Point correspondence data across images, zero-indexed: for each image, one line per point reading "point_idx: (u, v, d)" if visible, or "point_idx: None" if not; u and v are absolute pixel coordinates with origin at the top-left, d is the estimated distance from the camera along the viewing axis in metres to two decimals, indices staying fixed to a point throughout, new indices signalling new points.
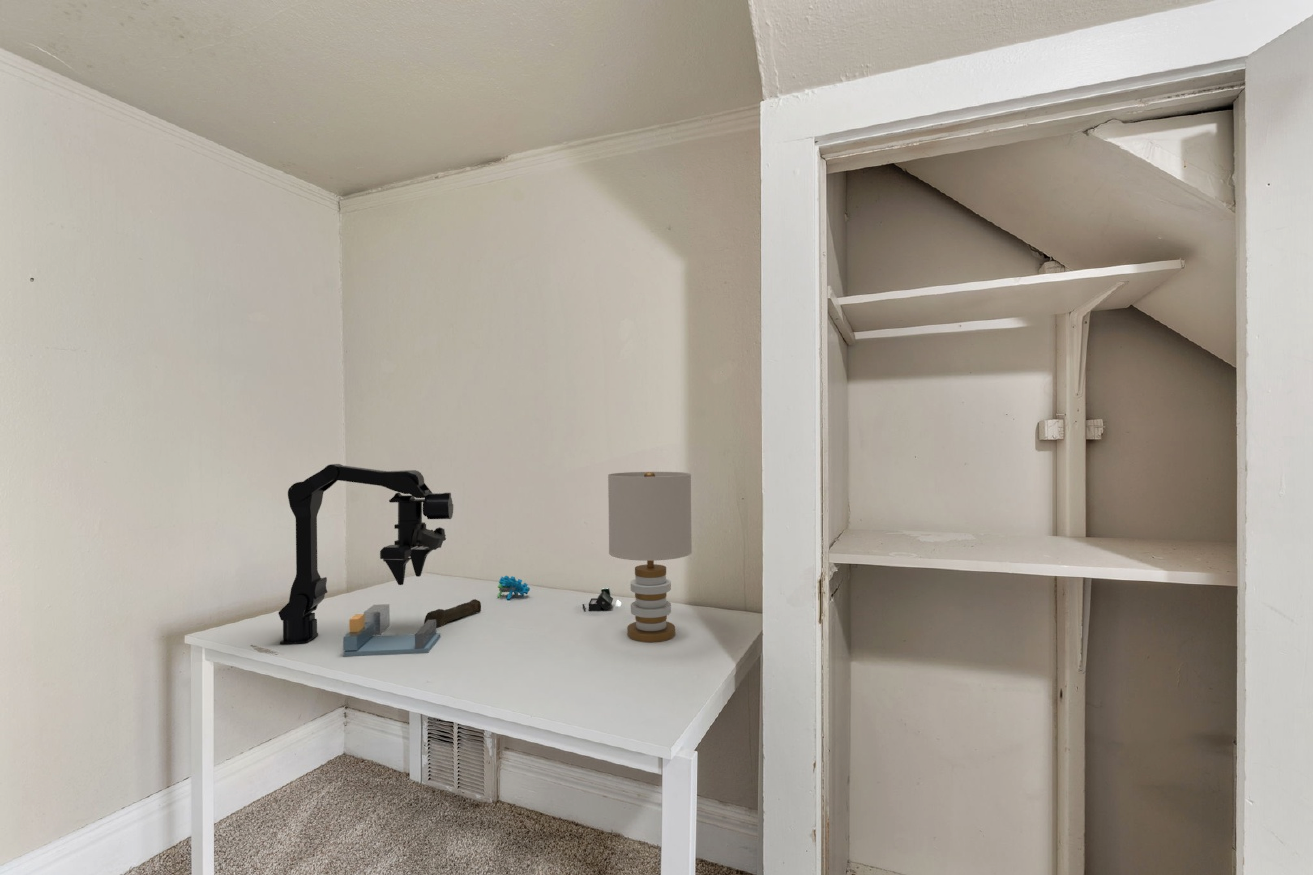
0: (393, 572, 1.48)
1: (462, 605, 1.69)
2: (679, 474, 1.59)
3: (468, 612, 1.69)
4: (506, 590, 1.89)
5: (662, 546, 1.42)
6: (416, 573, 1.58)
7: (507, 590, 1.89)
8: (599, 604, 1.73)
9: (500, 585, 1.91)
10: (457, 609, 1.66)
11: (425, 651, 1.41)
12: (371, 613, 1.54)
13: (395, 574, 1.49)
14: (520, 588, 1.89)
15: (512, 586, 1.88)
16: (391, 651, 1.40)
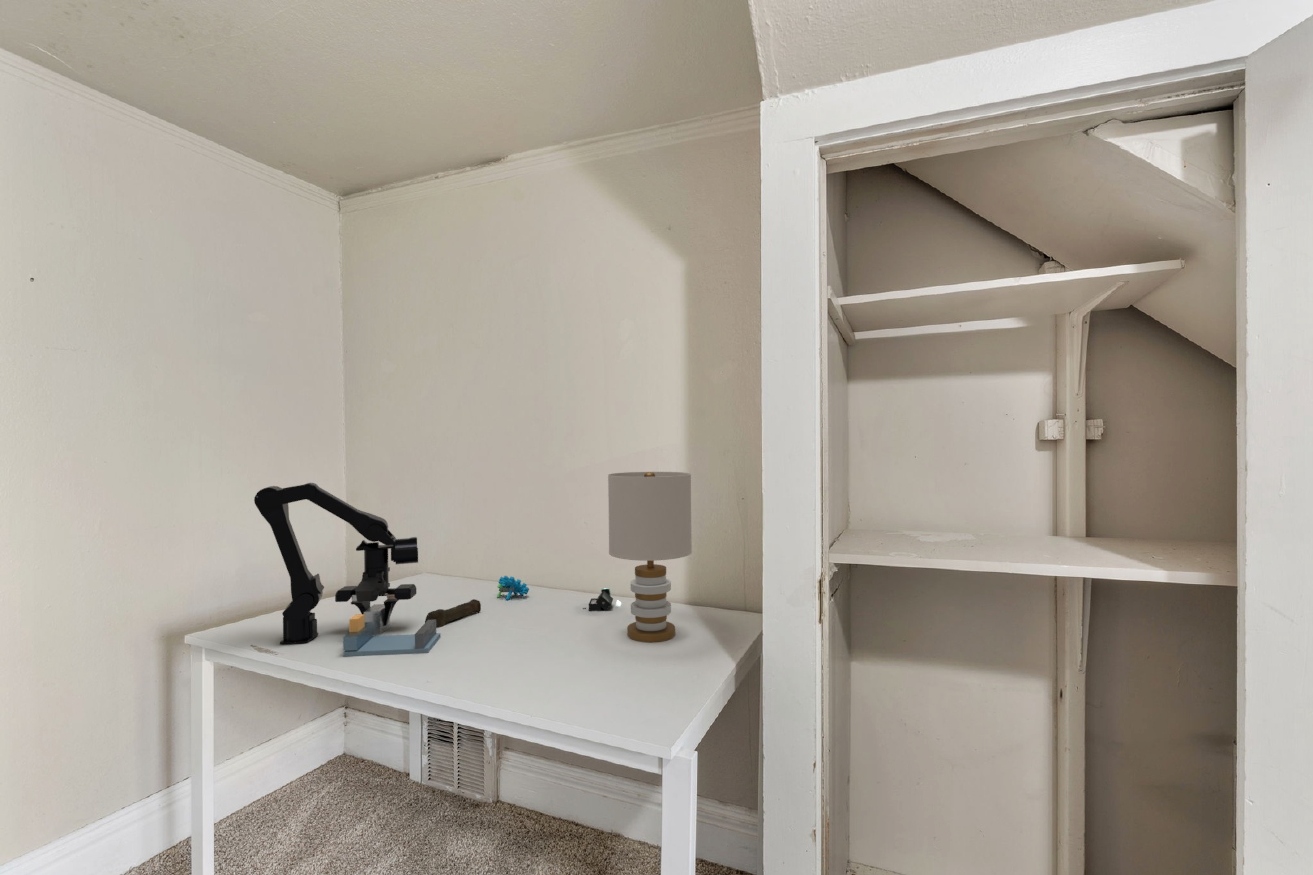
0: None
1: (462, 605, 1.69)
2: (679, 474, 1.59)
3: (468, 612, 1.69)
4: (505, 590, 1.89)
5: (662, 546, 1.42)
6: None
7: (506, 590, 1.89)
8: (599, 604, 1.73)
9: (500, 585, 1.91)
10: (457, 609, 1.66)
11: (425, 651, 1.41)
12: (371, 613, 1.54)
13: None
14: (519, 588, 1.88)
15: (511, 586, 1.88)
16: (391, 651, 1.40)
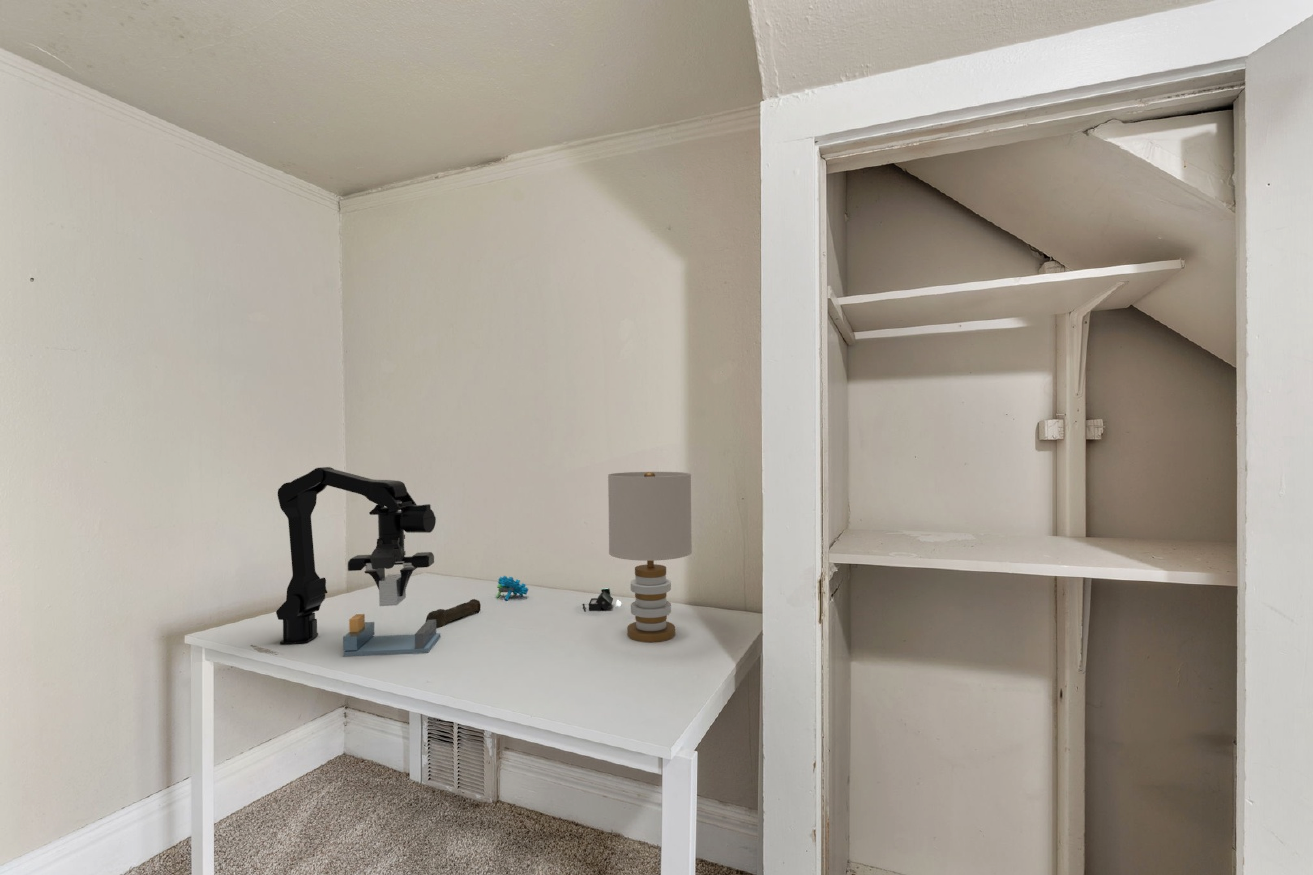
0: None
1: (462, 605, 1.69)
2: (679, 474, 1.59)
3: (468, 612, 1.69)
4: (505, 590, 1.89)
5: (662, 546, 1.42)
6: None
7: (506, 590, 1.89)
8: (599, 604, 1.73)
9: (499, 585, 1.91)
10: (457, 609, 1.66)
11: (425, 651, 1.41)
12: (387, 582, 1.44)
13: None
14: (519, 588, 1.88)
15: (511, 586, 1.88)
16: (391, 651, 1.40)
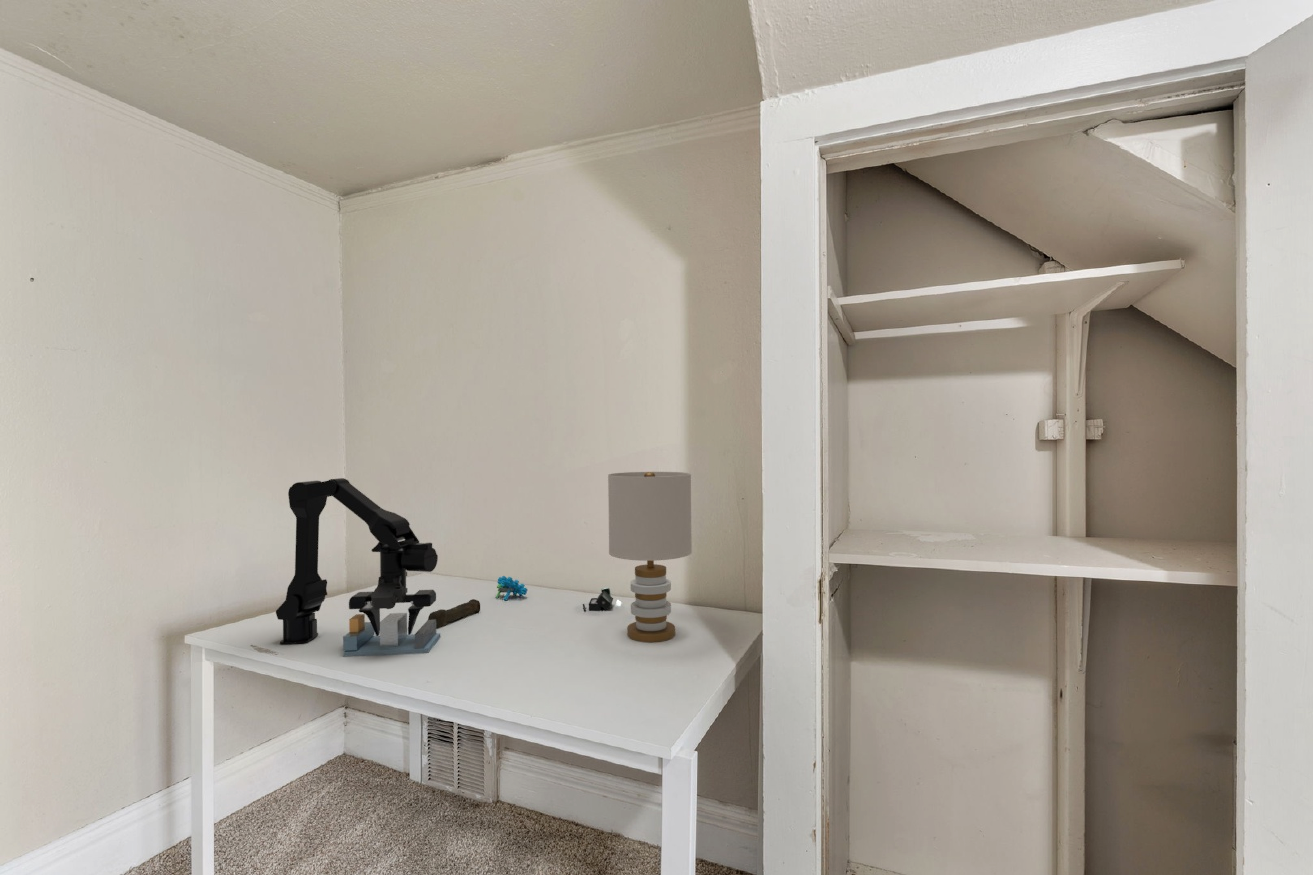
0: None
1: (462, 605, 1.69)
2: (679, 474, 1.59)
3: (468, 612, 1.69)
4: (504, 590, 1.89)
5: (662, 546, 1.42)
6: None
7: (505, 590, 1.88)
8: (599, 604, 1.73)
9: (499, 585, 1.91)
10: (458, 609, 1.66)
11: (425, 651, 1.41)
12: (388, 623, 1.42)
13: None
14: (518, 589, 1.88)
15: (510, 586, 1.87)
16: (391, 651, 1.40)
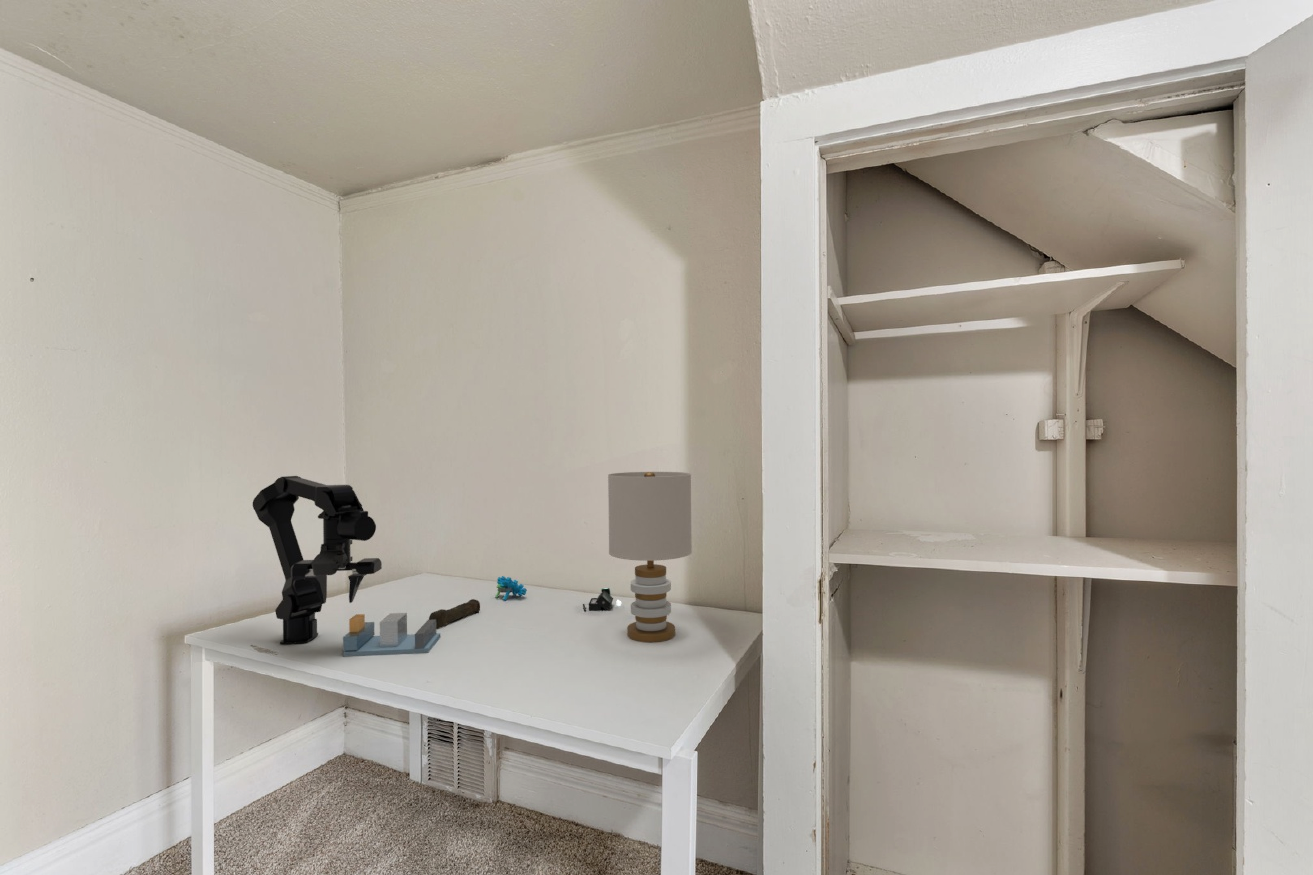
0: None
1: (462, 605, 1.69)
2: (679, 474, 1.59)
3: (468, 612, 1.69)
4: (504, 590, 1.89)
5: (662, 546, 1.42)
6: None
7: (504, 590, 1.88)
8: (599, 604, 1.74)
9: (499, 585, 1.91)
10: (458, 609, 1.66)
11: (425, 651, 1.41)
12: (388, 623, 1.42)
13: None
14: (517, 589, 1.88)
15: (509, 587, 1.87)
16: (391, 651, 1.40)
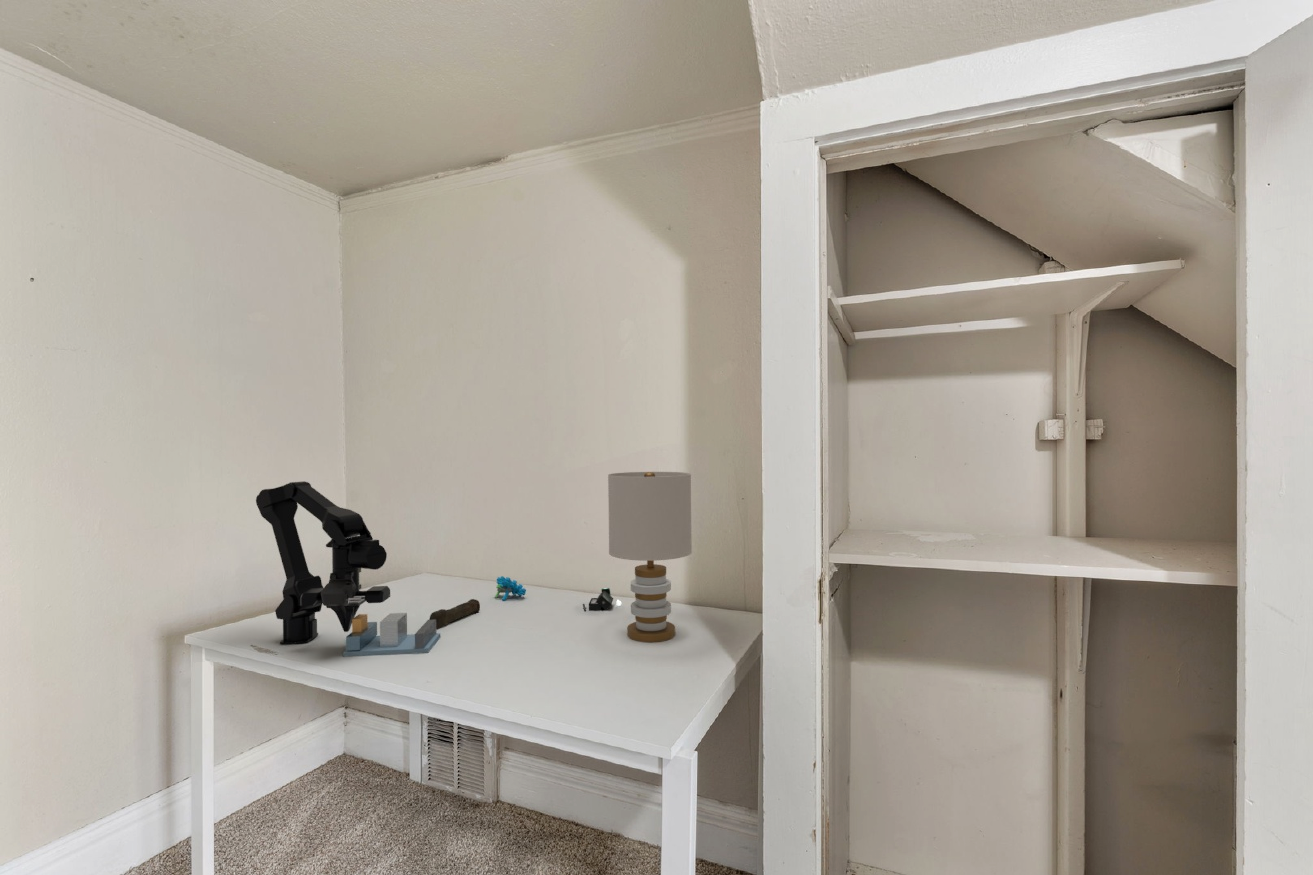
0: None
1: (462, 605, 1.69)
2: (679, 474, 1.59)
3: (468, 612, 1.69)
4: (503, 591, 1.88)
5: (662, 546, 1.42)
6: None
7: (504, 591, 1.88)
8: (599, 604, 1.74)
9: (498, 585, 1.91)
10: (458, 609, 1.66)
11: (425, 651, 1.41)
12: (388, 623, 1.42)
13: None
14: (516, 589, 1.87)
15: (508, 587, 1.87)
16: (391, 651, 1.40)
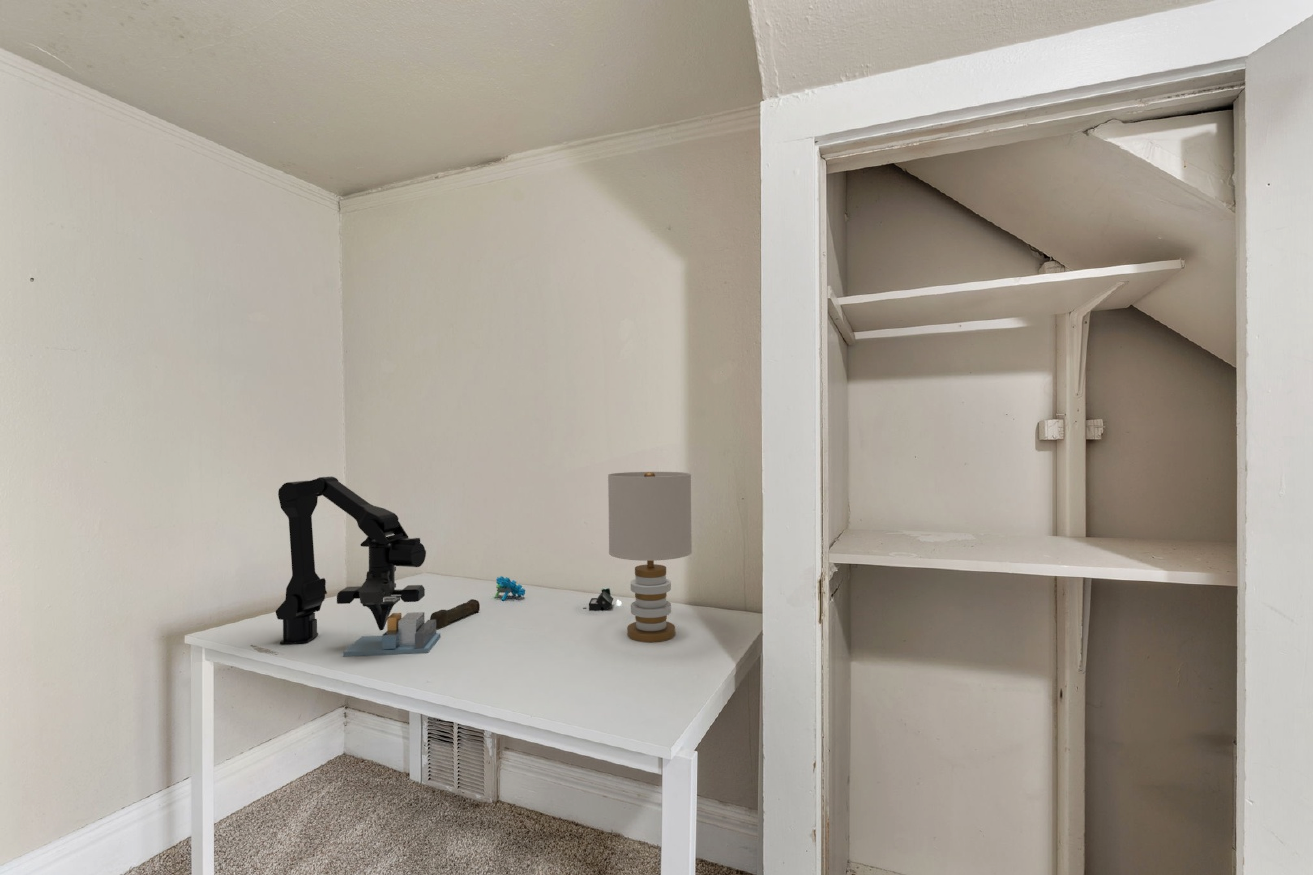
0: None
1: (462, 605, 1.69)
2: (679, 474, 1.59)
3: (468, 612, 1.69)
4: (503, 591, 1.88)
5: (662, 546, 1.42)
6: None
7: (503, 591, 1.88)
8: (599, 604, 1.74)
9: (498, 585, 1.91)
10: (458, 609, 1.66)
11: (425, 651, 1.41)
12: (406, 622, 1.42)
13: None
14: (516, 589, 1.87)
15: (508, 587, 1.87)
16: (391, 651, 1.40)
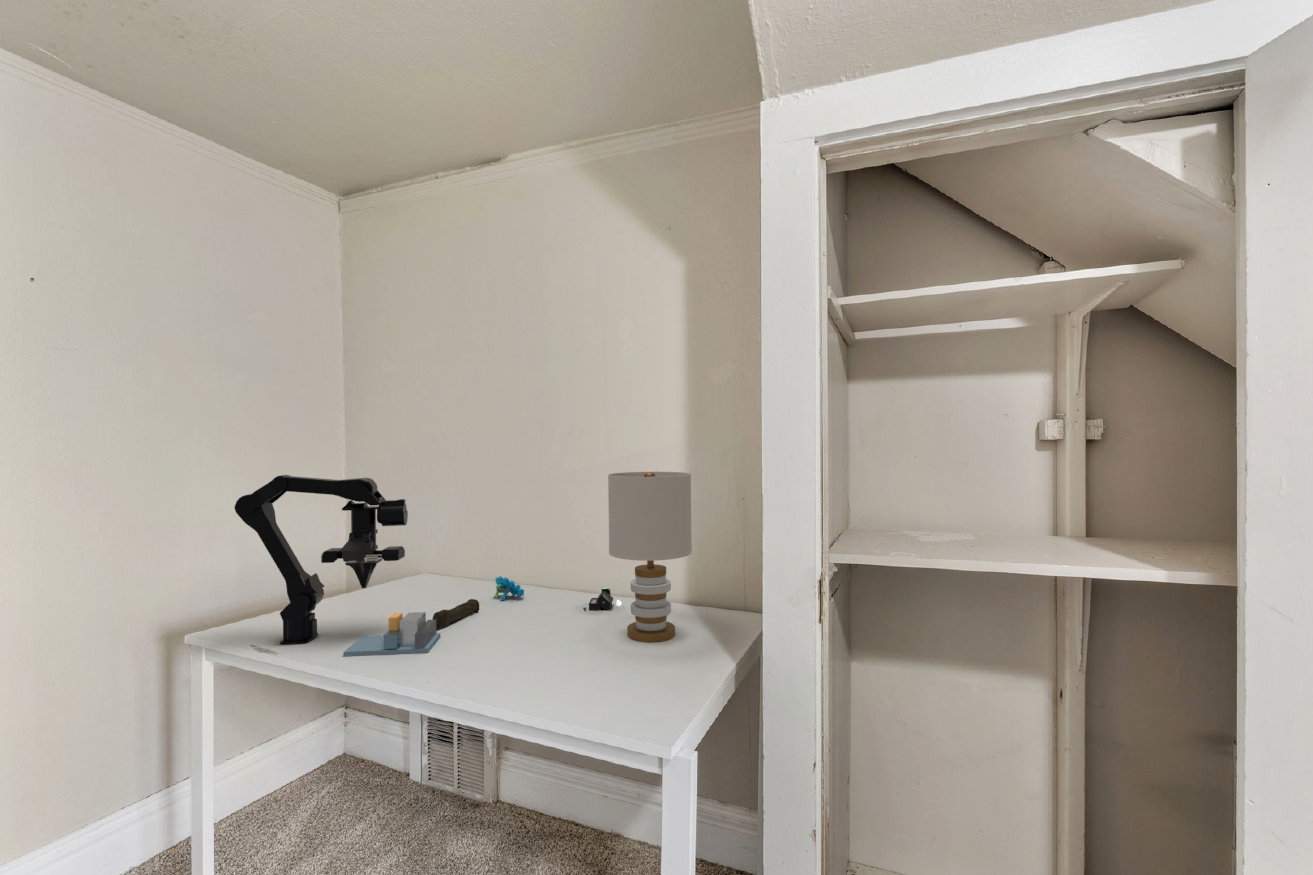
0: None
1: (462, 605, 1.69)
2: (679, 474, 1.59)
3: (469, 612, 1.69)
4: (502, 591, 1.88)
5: (662, 546, 1.42)
6: None
7: (503, 591, 1.88)
8: (599, 604, 1.74)
9: (498, 585, 1.91)
10: (459, 609, 1.66)
11: (425, 651, 1.41)
12: (408, 622, 1.42)
13: None
14: (515, 589, 1.87)
15: (507, 587, 1.87)
16: (391, 651, 1.40)
